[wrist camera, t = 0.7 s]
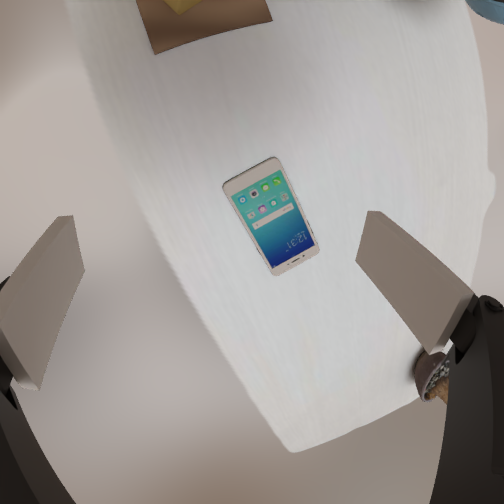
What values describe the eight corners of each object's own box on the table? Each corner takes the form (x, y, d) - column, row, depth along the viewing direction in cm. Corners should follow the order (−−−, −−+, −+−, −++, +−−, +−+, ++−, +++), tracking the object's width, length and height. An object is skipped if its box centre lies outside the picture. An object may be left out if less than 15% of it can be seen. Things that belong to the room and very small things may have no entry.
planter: (415, 381, 71) (447, 431, 54) (387, 376, 65) (424, 437, 47) (450, 345, 67) (488, 394, 50) (428, 335, 60) (474, 394, 43)
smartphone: (277, 155, 33) (321, 252, 40) (275, 153, 34) (319, 249, 41) (220, 186, 33) (274, 278, 41) (219, 184, 34) (272, 275, 42)
